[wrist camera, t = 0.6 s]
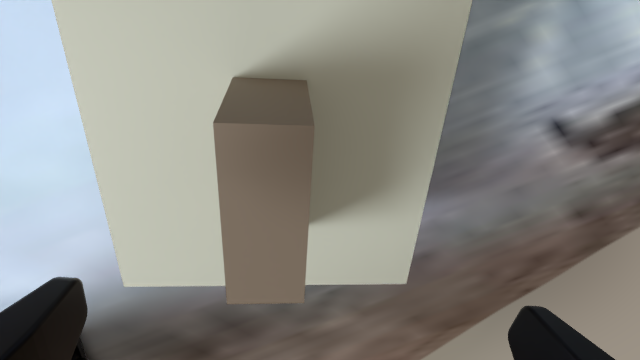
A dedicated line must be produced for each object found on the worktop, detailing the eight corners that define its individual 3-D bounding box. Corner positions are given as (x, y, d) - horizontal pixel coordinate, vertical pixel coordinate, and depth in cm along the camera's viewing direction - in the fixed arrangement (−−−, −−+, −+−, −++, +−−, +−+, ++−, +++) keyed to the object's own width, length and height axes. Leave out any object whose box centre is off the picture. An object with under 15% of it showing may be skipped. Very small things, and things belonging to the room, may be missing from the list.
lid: (130, 273, 17) (81, 373, 13) (54, -49, 11) (-81, -51, 7) (401, 271, 19) (435, 362, 14) (466, -20, 12) (556, -8, 8)
